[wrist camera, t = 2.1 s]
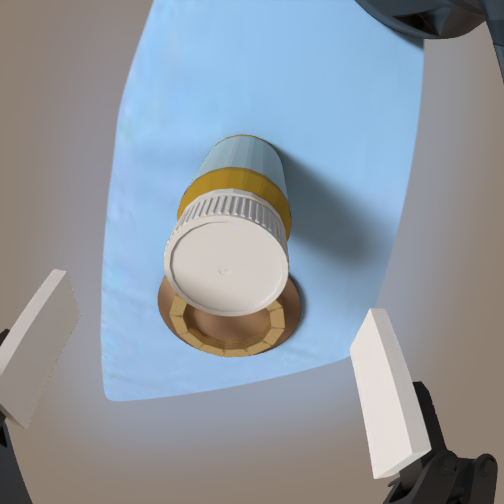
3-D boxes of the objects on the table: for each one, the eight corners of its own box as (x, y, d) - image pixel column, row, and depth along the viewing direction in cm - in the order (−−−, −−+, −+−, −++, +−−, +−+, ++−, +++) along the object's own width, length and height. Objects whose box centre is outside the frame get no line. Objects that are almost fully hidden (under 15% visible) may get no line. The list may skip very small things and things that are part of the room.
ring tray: (238, 218, 30) (236, 231, 28) (325, 317, 37) (328, 332, 35) (133, 293, 36) (127, 307, 34) (223, 364, 43) (221, 378, 41)
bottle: (288, 197, 29) (306, 312, 16) (217, 211, 30) (184, 328, 17) (273, 125, 25) (284, 191, 12) (196, 143, 26) (132, 224, 14)
